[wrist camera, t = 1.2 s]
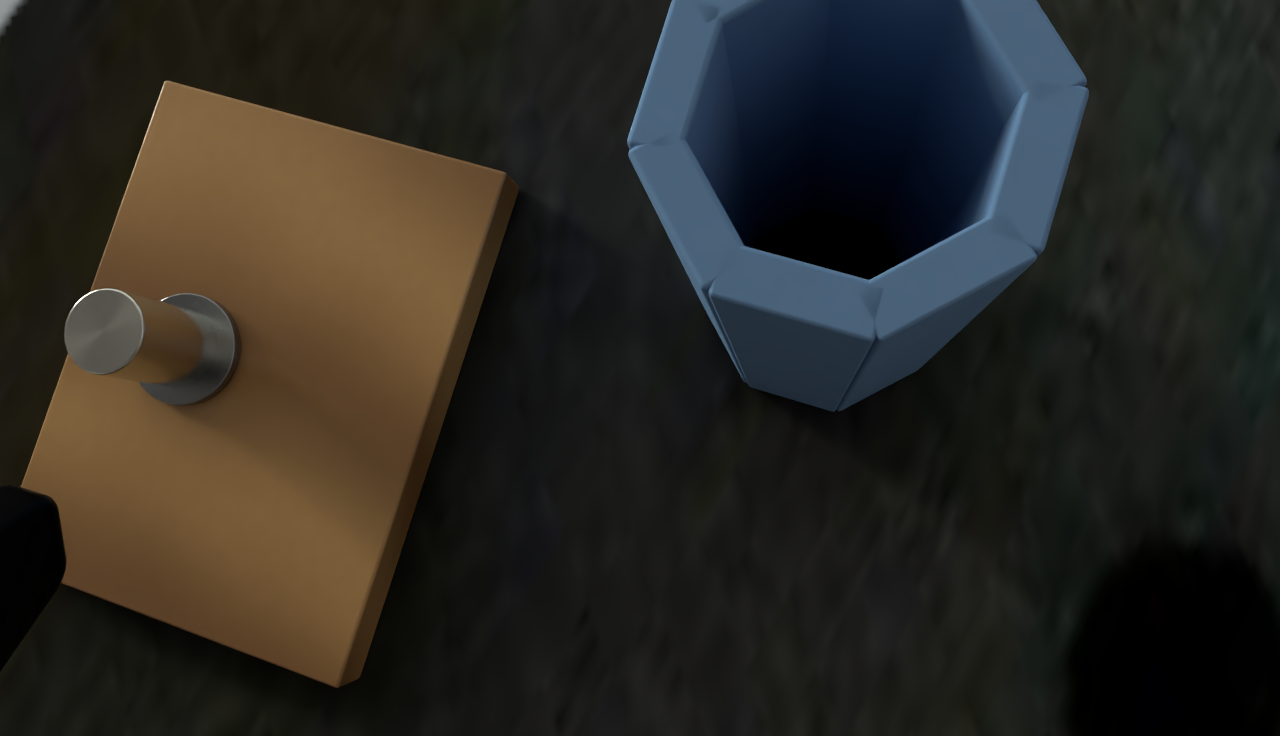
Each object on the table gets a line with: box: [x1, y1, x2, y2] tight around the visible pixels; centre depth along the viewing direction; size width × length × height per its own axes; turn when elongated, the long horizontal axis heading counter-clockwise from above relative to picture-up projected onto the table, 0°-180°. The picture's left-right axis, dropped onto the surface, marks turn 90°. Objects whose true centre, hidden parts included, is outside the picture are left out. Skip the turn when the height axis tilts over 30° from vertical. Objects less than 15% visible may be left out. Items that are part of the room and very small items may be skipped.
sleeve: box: [627, 0, 1089, 412], centre depth 17 cm, size 5×5×11 cm
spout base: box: [21, 81, 519, 688], centre depth 22 cm, size 12×9×4 cm
